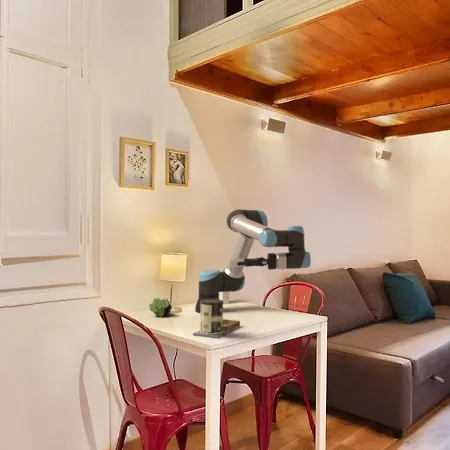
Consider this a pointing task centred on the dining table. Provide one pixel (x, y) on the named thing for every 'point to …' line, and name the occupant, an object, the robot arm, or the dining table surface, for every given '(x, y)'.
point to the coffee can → (211, 316)
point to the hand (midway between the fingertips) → (230, 263)
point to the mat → (211, 335)
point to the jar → (224, 297)
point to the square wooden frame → (230, 324)
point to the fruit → (160, 307)
